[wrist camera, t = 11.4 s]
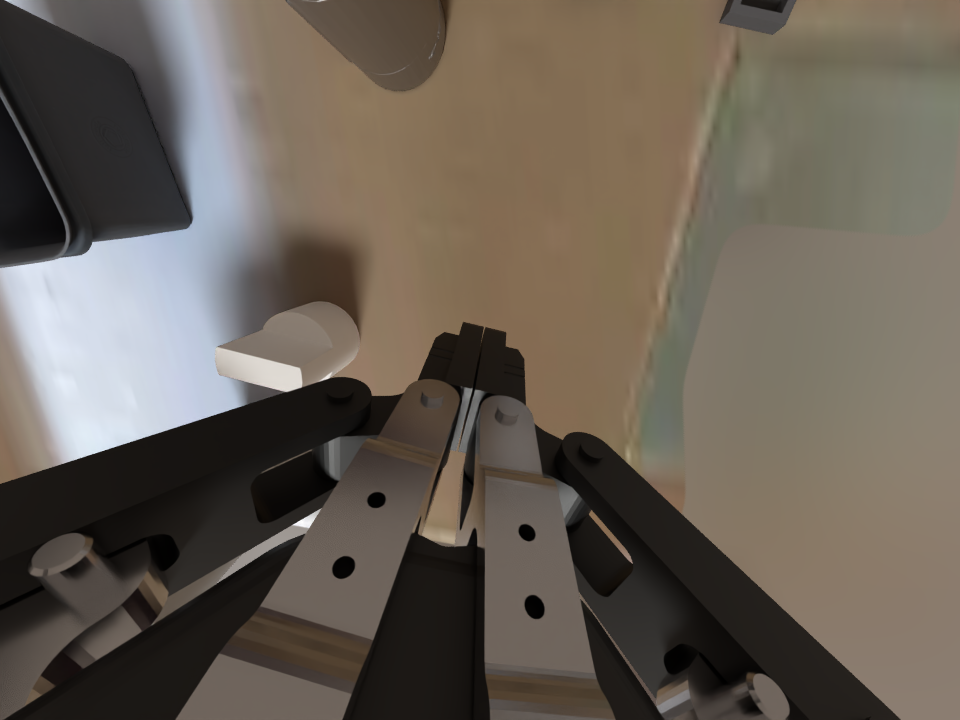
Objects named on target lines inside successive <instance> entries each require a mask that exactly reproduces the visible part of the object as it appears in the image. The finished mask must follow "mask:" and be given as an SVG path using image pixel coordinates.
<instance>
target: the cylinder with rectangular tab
mask: <svg viewBox="0 0 960 720" xmlns="http://www.w3.org/2000/svg"><path fill="white" fill-rule="evenodd" d="M359 346H360V335H359V332H358V329H357V326H356V324H355V323H354V321H353V319H352V318H351V317H350V316H349V315H348V314H347V313H346V311H344V310H343V309H341V308H340V307H338V306H337V305H334V304H332V303H329V302H323V301H317V302H312V303H308V304H305V305H302V306H299V307H296V308H293V309H290V310H287V311H284V312H281V313H278V314H276V315H274V316H273V317H271V318H270V319H269V320H268V321H267V322H266V323H265V324H264V326H263V329H262V330H261V331H258V332H255V333H253V334H250V335H247V336H244V337H242V338H239V339H236V340H234V341H231V342H228V343H226V344H223V345H220V346H218V347H216V350H215V363H216V367H217V371H218V374H219V375H221V376H225V377H229V378H233V379H237V380H241V381H245V382H249V383H253V384H257V385H261V386H265V387H268V388H272V389H276V390H280V391H284V392H288V391H292V390H295V389H298V388H301V387H304V386H307V385H310V384H313V383H316V382H320V381H323V380H326V379H329V378H330V377H332V376H333V375H335V374H336V373H337V372H339V371H340V370H341V369H343V368H344V367H345V366H347V365H348V364H349V363H350V362H351V361H353V360H354V359H355V357H356V355H357V353H358V351H359Z"/></svg>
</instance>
